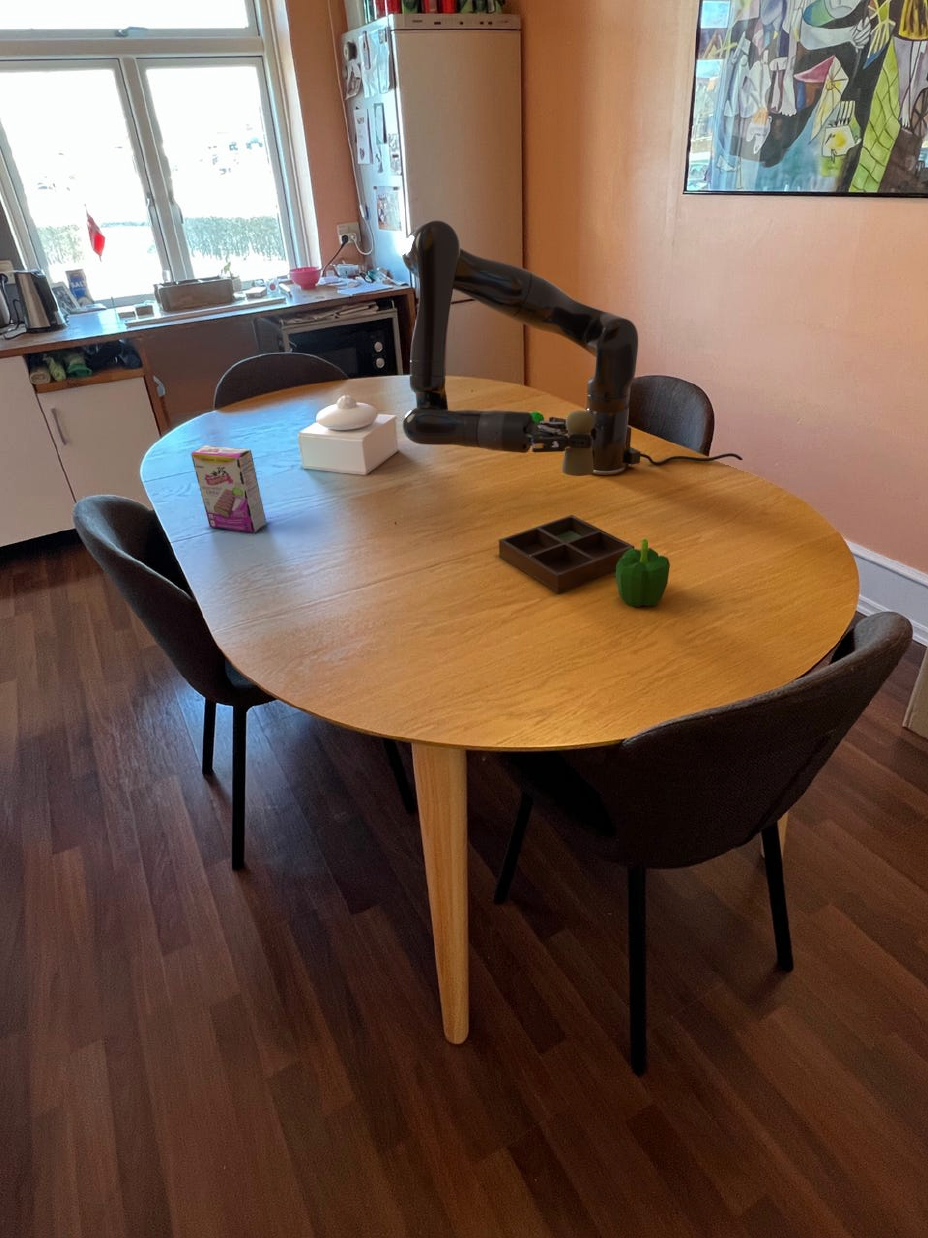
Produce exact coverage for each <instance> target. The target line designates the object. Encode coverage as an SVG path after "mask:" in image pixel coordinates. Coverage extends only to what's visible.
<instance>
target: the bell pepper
mask: <svg viewBox="0 0 928 1238" xmlns="http://www.w3.org/2000/svg"><path fill="white" fill-rule="evenodd" d="M640 541H641V542H640V543H641V549H636V548H634V549H633V548H630V549H629V550H628V551H627V552H625V553H624V555H623V556H622V558H620V559H619V561H618V563H617V565H616V571H615V579H616V586H617V589H618V595H619V596H620V598H621V599H622V601H623V602H624V603H625V604H626V605H628V606H631V607H632V608H633V607H635V608H640V607H642V606H646V607H654V606H656V605H657V604H658V603H659V602H660V601H661V600H662V598H663V596H664V594H665V591H666V589H667V586H668V582H669V575H670V566H671V563H670V560H669V558H668V557H667V556H664V555H659V553H658V552H657V551H656V550H654V549H653V548H652V547H649V540H647V538H642V539H641V540H640Z"/></svg>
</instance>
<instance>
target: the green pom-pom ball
mask: <svg viewBox="0 0 928 1238" xmlns="http://www.w3.org/2000/svg"><path fill="white" fill-rule="evenodd" d="M529 413H530V414H531V415H532V417H533V421H534V422H536V423H537V422H541V421H545V416H544V415H543V414H542V413H541V412H539V411H537V410H535V411H534V410H533V411H531V412H529Z"/></svg>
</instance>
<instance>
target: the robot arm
mask: <svg viewBox="0 0 928 1238" xmlns="http://www.w3.org/2000/svg"><path fill="white" fill-rule="evenodd" d="M401 256H402V261H403V263H404V264H405V267H406V268H407V270H408V271H409V272H410V273H411V274H412V275H414V277H416V278H418V283H419V284H418V286H419V291H418V293H419V294H418V308H417V314H416V318H415V324H414V329H413V332H412V338H411V344H410V356H409V387H410V390H411V391H412V392H413V393H414V395H415V402H416V403H415V404H416V407H414V408H413V409H410V410H409V411H408V412H407V413H406V415H404V417H403V420H402V430H403V434H404V435H405V437H406V438H407V439H408V440H410V441H411V442H412V443H414V444H417V445H427V446H428V445H429V446H457V447H458V446H459V447H464V448H477V449H485V450H489V451H496V452H507V453H508V452H509V453H518V454H519V453H521V454H526V453H528V452H529V451H530V449H531V452H532V453H535V454H536V453H557V452H559V453H560V452H562V453H563V452H565V448H567V449H568V448H571V447H579V448H591V446H592V454H593V466H594V471H593V473H591V474H593V475H598V476H614V475H618V474H622V473H623V472H625V470H628V469H630V466H634V465H638V464H641V458H645V459H647V460H648V461H649V463H650V464H651V465H654V466H661V465H664V464H666V463H668V462H670V461H675V460H687V461H695V462H711V461H716V460H720V459H723V458H728V457H730V458H731V457H733V458H736V459H738V460H739V461H743V458H742V456H740V455H739V454H737V453H733V452H730V453H723V454H719V455H715V456H711V457H695V456H689V455H688V456H686V455H674V456H670V457H668V458H665V459H664V460H662V461H654V460H653V458H652V457H651V456H650V455H649V454H646V453H642V452H641V451H639V450H638V449H636V448H635V447H632V446H631V443H632V440H631V439H632V427H631V426H629V416H630V401H631V399H630V398H631V387H632V386H633V385H632V384H633V383H634V381H635V378H636V371H637V362H638V354H639V353H638V352H639V332H638V329H637V327H636V325H635V324H634V322H632V320H630V319H628V318H626V317H624V316H621V315H619V314H615V313H612V312H609V311H604V310H603V309H599V308H596V307H592V306H591V305H587V304H584V303H582V302H579V301H578V300H576V299H574V298H572V297H571V296H570V295H568V294H567V293H566V292H565V291H563V289H561V288H560V287H558V286H557V285H556V284H554V283H552V282H551V281H549V280H547V279H545V278H544V277H542V276H540V275H538V274H536V273H534V272H532V271H530V270H528V269H526V268H523V267H520V266H517V265H514V264H512V263H507V262H502V261H498V260H493V259H488V258H484V257H481V256H477V255H475V254H473V253H471V252H468V251H466V250H465V249H463V248H461V244H460V239H459V236H458V234H457V232H456V230H455V229H454V227H452V226H451V225H450V224H449V223H447V222H445V221H443V220H431V221H428V222H425V223H423V224H422V225H420V226H417V227H416V228H415V229H413V230H412V231H411V232H410V233H408V235H407V236H406V237H405V239H404V240H403V243H402V246H401ZM454 291H455V292H458V293H461V294H463V295H466V296H468V297H469V298H471V299H472V300H474V301H476V302H478V303H480V304H482V305H483V306H486V307H487V308H489V309H492V310H494V311H496V312H498V313H499V314H502V315H503V316H505V317H507V318H509V319H512V320H514V321H516V322H518V323H520V324H522V325H525V326H527V327H530V328H532V329H537V330H540V331H543V332H548V333H552V334H555V335H559V336H561V337H563V338H565V339H566V340H569V341H570V342H572V343H574V344H575V345H577V346H579V347H580V348H581V349H584V350H585V351H586V352H587V353H589V354H590V355H592V356H593V357H594V358H595V369H594V370H595V372H594V375H593V376H592V377H590V378H589V380H588V382H587V388H586V393H587V394H586V412H589V413H591V414H592V415H593V417H594V426H593V428H592V430H591V435H578V434H572V436H571V434H569V433H568V429H567V427H566V418H561V417H555V416H550V417H548V420H544V421H541V422H537V423H536V422H534V421H533V417H532V415H531V414H530V413H531V412H528V411H514V410H513V411H512V410H495V409H494V410H477V409H476V410H475V409H459V410H449V406H448V398H447V397H448V396H447V391H446V377H447V357H448V356H447V355H448V334H449V325H450V324H449V323H450V314H451V306H452V301H453V300H452V299H453V292H454Z"/></svg>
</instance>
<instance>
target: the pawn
mask: <svg viewBox="0 0 928 1238" xmlns="http://www.w3.org/2000/svg"><path fill="white" fill-rule="evenodd" d="M565 419H566V427H567V430H568V433H569V434H571V436H572V434H578V435H591V430H592V428H593V426H594V417H593V415H592V414H591V413H589V412H587V410H586V411H585V410H576V411H572V412H570V413H568V415H567V416H566V417H565ZM593 471H594V466H593V454H592V446H591V448H579V447H571V448H568V449H567V448H565V451H564V454H563V460H562V466H561V472H562V473H563V474H564V475H568V476H572V477H583V476H589V475H591V474H592V473H593Z"/></svg>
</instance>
